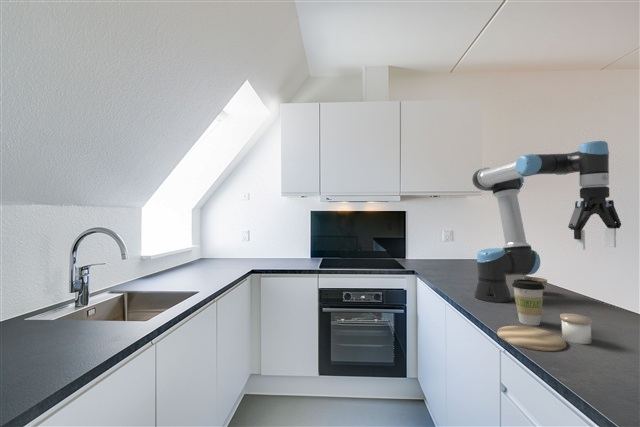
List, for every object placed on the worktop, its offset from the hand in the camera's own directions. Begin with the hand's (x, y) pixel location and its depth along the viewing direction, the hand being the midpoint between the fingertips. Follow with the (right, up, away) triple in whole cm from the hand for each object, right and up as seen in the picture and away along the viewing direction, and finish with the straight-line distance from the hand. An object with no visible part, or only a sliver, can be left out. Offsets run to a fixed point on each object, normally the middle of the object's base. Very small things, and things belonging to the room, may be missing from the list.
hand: (595, 248), depth 103 cm
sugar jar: (-15, -28, -9) cm, 33 cm away
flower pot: (+12, -28, +45) cm, 54 cm away
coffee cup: (-19, -28, +6) cm, 34 cm away
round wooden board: (-28, -28, -8) cm, 41 cm away
